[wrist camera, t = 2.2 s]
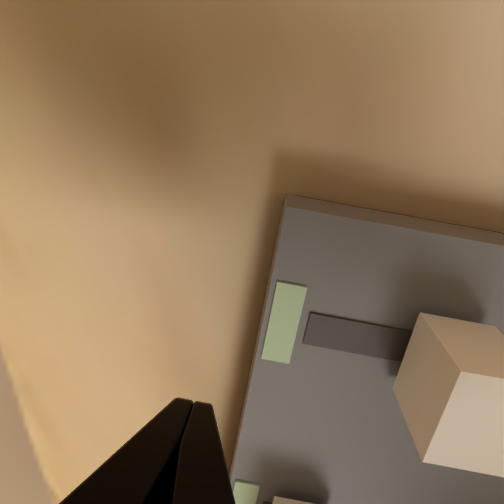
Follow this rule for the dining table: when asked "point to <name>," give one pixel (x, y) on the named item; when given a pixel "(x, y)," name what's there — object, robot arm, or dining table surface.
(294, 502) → the middle switch
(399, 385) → the switch
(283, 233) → the breaker panel
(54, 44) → the dining table surface
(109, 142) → the dining table surface
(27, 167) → the dining table surface
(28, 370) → the dining table surface
